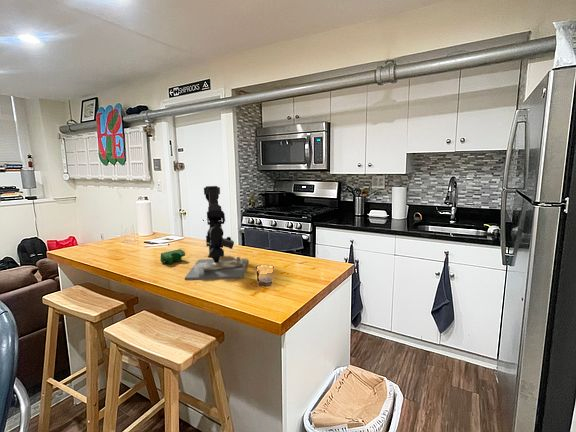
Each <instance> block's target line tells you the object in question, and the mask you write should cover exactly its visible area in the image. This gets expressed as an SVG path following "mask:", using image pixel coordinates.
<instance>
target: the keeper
mask: <svg viewBox="0 0 576 432" xmlns="http://www.w3.org/2000/svg"><path fill="white" fill-rule="evenodd" d="M195 264H196V263H195ZM195 264H193V266H194V274H195V275H197V276H198V277H199V276H204V271H203V269H207V268H212V267H214V264H212V263H210V262H208V261H207V262H202V263H198V264H196V265H195Z"/></svg>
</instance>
